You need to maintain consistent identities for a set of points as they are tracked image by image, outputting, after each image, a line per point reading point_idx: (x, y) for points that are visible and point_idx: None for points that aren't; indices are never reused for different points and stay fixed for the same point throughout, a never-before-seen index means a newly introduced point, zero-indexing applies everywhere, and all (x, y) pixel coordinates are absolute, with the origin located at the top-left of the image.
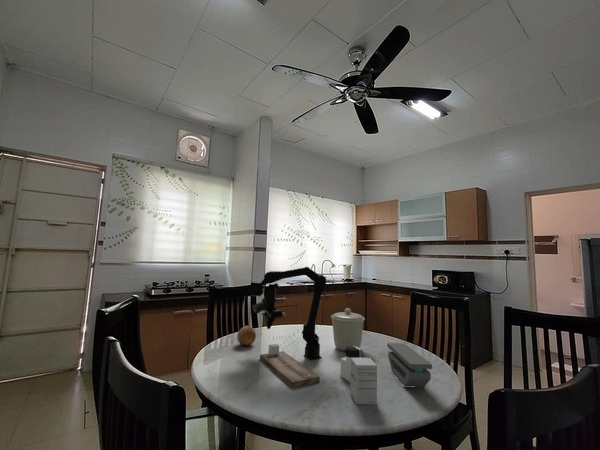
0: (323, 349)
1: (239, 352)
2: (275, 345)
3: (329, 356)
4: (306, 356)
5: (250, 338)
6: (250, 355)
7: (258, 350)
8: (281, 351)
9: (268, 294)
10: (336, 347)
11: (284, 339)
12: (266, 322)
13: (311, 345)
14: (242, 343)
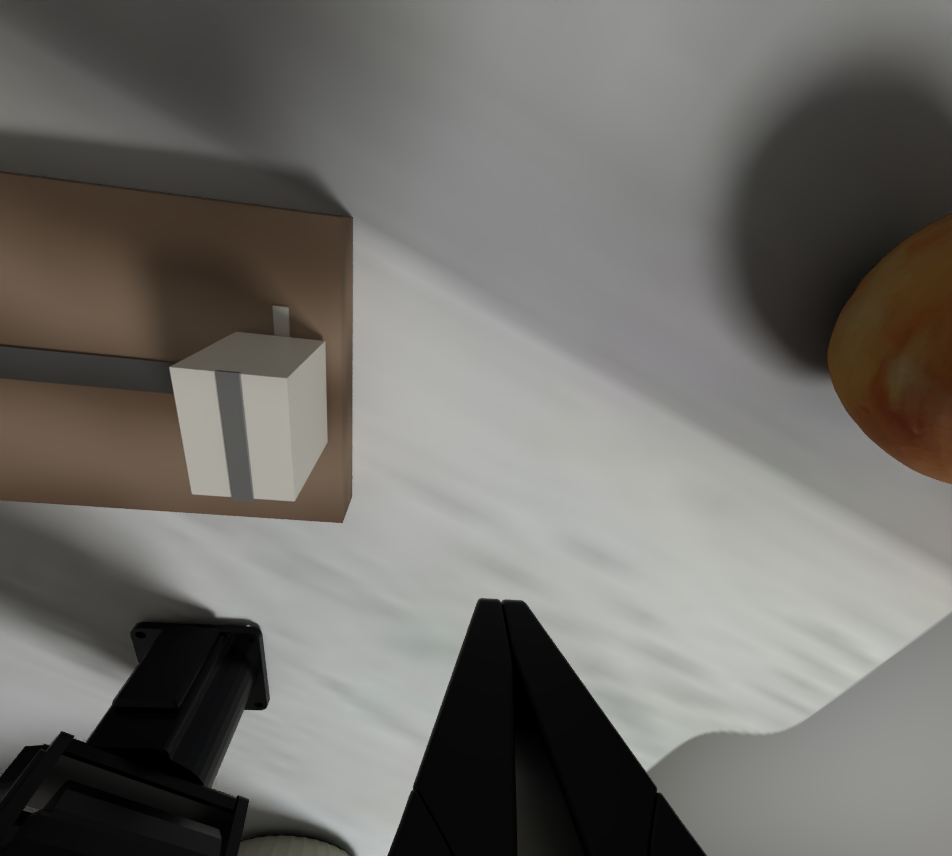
0: (342, 778)
1: (745, 83)
2: (202, 447)
3: None
4: (178, 630)
5: (881, 341)
6: (543, 175)
7: (636, 358)
8: (341, 506)
9: None
10: (303, 842)
11: (723, 688)
12: (571, 770)
13: (16, 762)
14: (922, 228)
